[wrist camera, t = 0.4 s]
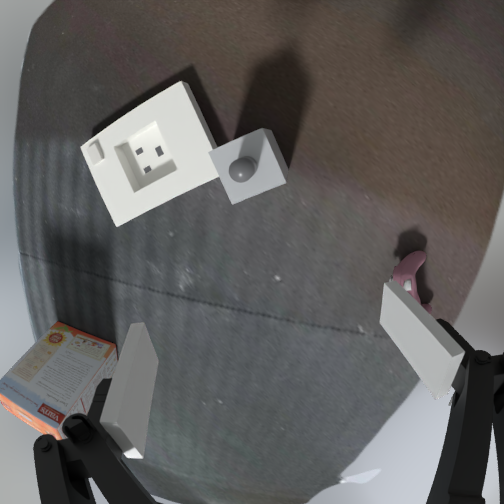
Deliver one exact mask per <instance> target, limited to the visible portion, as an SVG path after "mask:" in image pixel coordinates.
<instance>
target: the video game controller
mask: <svg viewBox="0 0 504 504" xmlns="http://www.w3.org/2000/svg"><path fill="white" fill-rule="evenodd" d="M425 259H426V253H425V252H423V251H415V252H412V253H410V254H409V255H407V256H406V257H405V258H404V259H403V260H402V261H401V262H400V263H399V264H398V266H395V267H394V271H393V277H392V275H391V277H390V280H389V281H390V282H391V281H395V280H396V281H397V282H398V283H399V284H400V285H401V286H402V287H403V288H404V289H405V290H406V291H407V292H408V293H409V294H410V295H411V296H412V297H413V298H414V299H415V300H416V301H417V302H418V303H419V304H420V305H421V306H422V307H423V308H424V309H425V310H426V311H427V312H428V313H429V314H430V313H431V311H432V307H431V305H429V304H421V302H420V298H419V295H418V293H417V285H416V279H415V273H416V271H417V270H418V268H419V267H420V266H421V265H422V264H423V262H424V261H425Z"/></svg>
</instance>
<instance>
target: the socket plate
mask: <svg viewBox="0 0 504 504" xmlns="http://www.w3.org/2000/svg"><path fill="white" fill-rule="evenodd" d="M216 148H218V147H217V145H216V143H215V141H214V138H213V136H212V134H211V132H210V130H209V128H208V125H207V123H206V121H205V119H204V117H203V115H202V112H201V110H200V108H199V106H198V104H197V102H196V100H195V97H194V95H193V93H192V91H191V89H190V87H189V85H188V83H185V82H183V81H180V82H178V83H176V84H174V85H173V86H171V87H169V88H167V89H166V90H164V91H162V92H160V93H159V94H157V95H155V96H154V97H152V98H151V99H149V100H147V101H146V102H144V103H142V104H141V105H139V106H138V107H136V108H135V109H133V110H132V111H130V112H129V113H127V114H125V115H124V116H123V117H121V118H120V119H118V120H117V121H115V122H114V123H112V124H111V125H110V126H108V127H107V128H105V129H104V130H103V131H101V132H100V133H98V134H97V135H96V136H94V137H93V138H92V139H90V140H89V141H88V142H86V143H85V144H84V145H83V146H81V150H82V152H83V155H84V157H85V159H86V162H87V164H88V166H89V169H90V171H91V173H92V176H93V178H94V180H95V182H96V185H97V187H98V189H99V191H100V194H101V196H102V198H103V200H104V202H105V204H106V206H107V208H108V211H109V213H110V215H111V217H112V219H113V221H114V223H115V225H116V227H118V226H120V225H122V224H124V223H125V222H127V221H129V220H131V219H133V218H135V217H137V216H139V215H141V214H142V213H144V212H146V211H148V210H150V209H152V208H154V207H156V206H158V205H160V204H162V203H164V202H166V201H168V200H170V199H172V198H174V197H176V196H178V195H180V194H183V193H185V192H187V191H189V190H191V189H193V188H195V187H197V186H199V185H202V184H204V183H206V182H208V181H210V180H212V179H215V178H217V177H219V175H218V173H217V170H216V168H215V166H214V164H213V162H212V160H211V157H210V155H209V153H208V152H210V151H212V150H214V149H216Z"/></svg>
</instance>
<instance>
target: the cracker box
mask: <svg viewBox="0 0 504 504" xmlns="http://www.w3.org/2000/svg"><path fill="white" fill-rule="evenodd" d="M117 363H118V358H117V350H116V344H114V343H111V342H108V341H105V340H103V339H100V338H98V337H95V336H93V335H90V334H87V333H85V332H82V331H80V330H78V329H75V328H73V327H70V326H68V325H66V324H63V323H61V322H59V321H57V322H56V323H55V324H54V325H53V326H52V327H51V328H50V329H49V330H48V331H47V332H46V333H45V334H44V335H43V336H42V337H41V338H40V339H39V340H38V341H37V342H36V343H35V344H34V345H33V346H32V347H31V348H30V349H29V350H28V351H27V352H26V353H25V354H24V355H23V356H22V357H21V358H20V359H19V360H18V362H16V363H15V365H14V366H13V367H12V368H11V369H10V370H9V371H8V372H7V373H6V374H5V375H4V377H3V378H2V379H1V380H0V401H1V403H2V405H3V406H4V408H5V409H6V410H8V411H9V412H11V413H12V414H14V415H15V416H17V417H18V418H19V419H21V420H22V421H24V422H25V423H27V424H28V425H30V426H31V427H33V428H35V429H36V430H38V431H40V432H41V433H43V434H50V435H53V436H54V437H55V438H56V439H57V440H61V439H66V438H67V437H66V435H65V434H64V433H63V431H62V425H63V422H64V421H65V419H66V418H67V417H69V416H70V415H72V414H75V413H82V414H85V415H86V414H87V413H88V411H89V409H90V405H91V403H92V399H93V396H94V394H95V391H96V388H97V386H98V384H99V383H100V382H101V381H102V380H103V378H110V377H111V376H112V374H113V373H114V371H115V369H116V366H117Z"/></svg>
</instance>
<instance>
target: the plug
mask: <svg viewBox="0 0 504 504" xmlns="http://www.w3.org/2000/svg"><path fill="white" fill-rule="evenodd" d="M208 153H209V155H210V157H211V160H212V162H213V164H214V166H215V168H216V170H217V173H218V175H219V177H220V179H221V181H222V184H223V186H224V188H225V190H226V192H227V194H228V197H229V199H230V201H231V203H232V205H233V204H235V203H237V202H240V201H242V200H245V199H247V198H250V197H252V196H254V195H257V194H259V193H262V192H264V191H267V190H269V189H272V188H274V187H277V186H279V185H282V184H285V183H286V181H287V176H288V171H289V170H288V167H287V165H286V162H285V160H284V158H283V155H282V153H281V151H280V149H279V146H278V144H277V142H276V139H275V137H274V135H273V133H272V131H271V130H269V129H265V128H261V129H258V130H256V131H254V132H251V133H249V134H247V135H244V136H242V137H240V138H238V139H235V140H233V141H231V142H229V143H227V144H224V145H222V146H220V147H218V148H216V149H214V150H212V151H210V152H208Z"/></svg>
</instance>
